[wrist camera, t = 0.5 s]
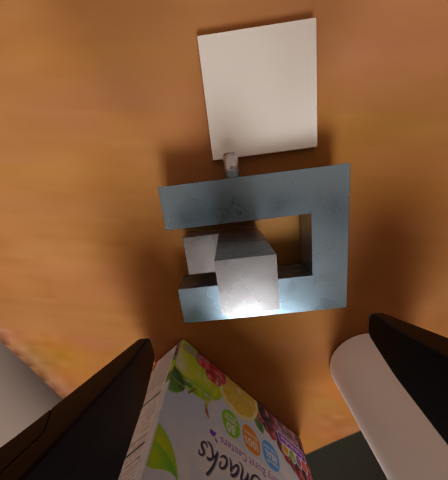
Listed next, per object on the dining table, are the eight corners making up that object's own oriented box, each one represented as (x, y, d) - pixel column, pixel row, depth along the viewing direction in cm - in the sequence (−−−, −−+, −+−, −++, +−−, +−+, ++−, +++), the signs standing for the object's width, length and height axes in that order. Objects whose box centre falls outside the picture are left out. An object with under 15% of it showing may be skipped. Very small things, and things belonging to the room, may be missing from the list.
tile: (312, 23, 16) (316, 17, 16) (314, 147, 19) (317, 146, 18) (198, 41, 17) (197, 36, 16) (213, 160, 19) (212, 160, 18)
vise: (331, 142, 19) (351, 134, 16) (330, 291, 22) (346, 307, 19) (163, 164, 19) (152, 160, 16) (189, 305, 23) (184, 323, 20)
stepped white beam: (255, 224, 20) (276, 254, 12) (258, 258, 21) (279, 309, 13) (187, 232, 21) (158, 267, 12) (192, 265, 22) (170, 320, 13)
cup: (319, 384, 25) (466, 699, 10) (343, 326, 23) (574, 610, 8) (385, 396, 26) (625, 717, 10) (413, 340, 24) (770, 636, 8)
